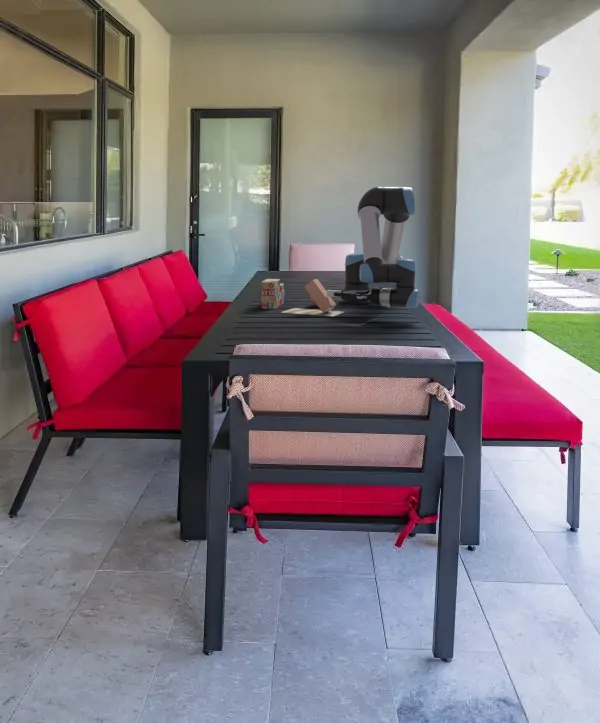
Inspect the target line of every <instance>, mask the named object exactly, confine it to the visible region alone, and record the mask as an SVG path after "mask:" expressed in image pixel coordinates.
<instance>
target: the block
mask: <svg viewBox="0 0 600 723" xmlns="http://www.w3.org/2000/svg"><path fill="white" fill-rule="evenodd" d="M304 288H305V290H306V291H307V292H308V295H309V296H310V295H311V297H312V298H313V300H314V301H315V302H316V304H317V305H318V306H317V307H318V308H319V310H321V311H322V312H323V313H327V312H329V311H332V309H334V308H335V307H336V306H337V304H336V302H335V301H334V300H333V297H327V290H326V289H325V287H324V286H323V285H322V283H321V282H320V281H319V279H318V278H315V279H312V280H311V281H310V282H308V283H307V284H306V285H304Z"/></svg>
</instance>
